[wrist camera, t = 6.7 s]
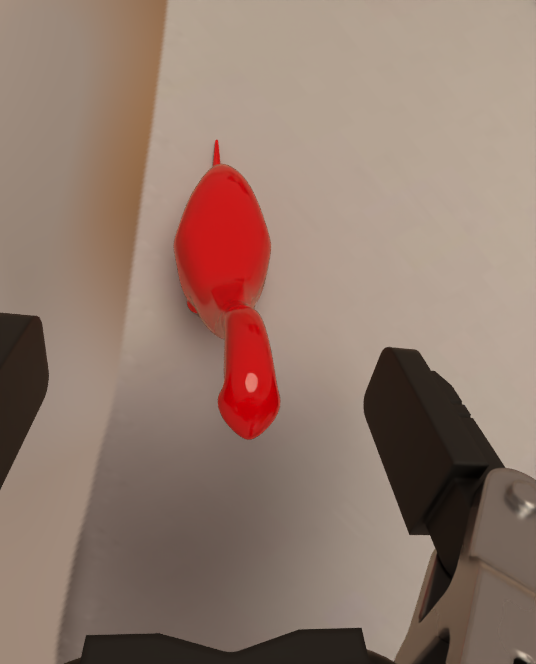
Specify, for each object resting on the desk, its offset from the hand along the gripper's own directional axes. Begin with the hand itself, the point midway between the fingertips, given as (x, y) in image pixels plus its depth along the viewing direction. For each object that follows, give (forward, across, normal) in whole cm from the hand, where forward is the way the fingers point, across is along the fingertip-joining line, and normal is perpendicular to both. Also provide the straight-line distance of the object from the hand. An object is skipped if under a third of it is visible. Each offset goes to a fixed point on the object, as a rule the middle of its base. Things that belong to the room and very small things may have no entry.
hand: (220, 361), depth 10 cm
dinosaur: (+12, 0, -4) cm, 12 cm away
